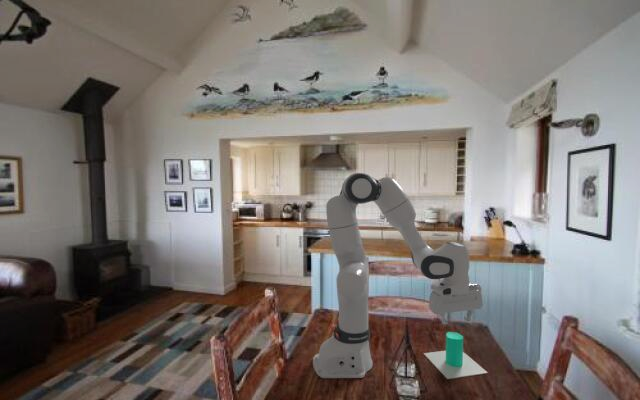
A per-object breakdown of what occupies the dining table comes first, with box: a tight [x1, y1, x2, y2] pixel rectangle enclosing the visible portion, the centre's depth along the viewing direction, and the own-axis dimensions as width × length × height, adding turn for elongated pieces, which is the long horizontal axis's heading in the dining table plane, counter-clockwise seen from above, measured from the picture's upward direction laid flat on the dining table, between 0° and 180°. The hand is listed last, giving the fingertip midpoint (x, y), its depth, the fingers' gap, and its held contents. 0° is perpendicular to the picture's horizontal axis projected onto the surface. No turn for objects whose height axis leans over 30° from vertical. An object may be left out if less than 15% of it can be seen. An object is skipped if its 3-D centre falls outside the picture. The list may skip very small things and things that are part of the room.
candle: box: [445, 331, 464, 367], centre depth 118 cm, size 6×6×12 cm
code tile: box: [423, 350, 489, 380], centre depth 119 cm, size 16×16×1 cm
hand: (456, 322), depth 118 cm, fingers open, 8 cm apart
